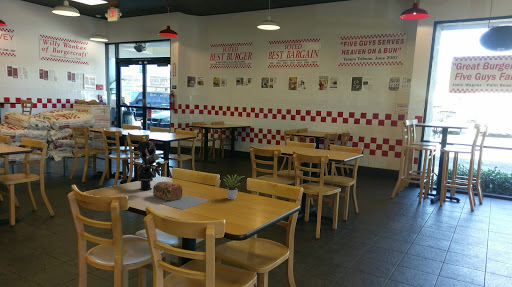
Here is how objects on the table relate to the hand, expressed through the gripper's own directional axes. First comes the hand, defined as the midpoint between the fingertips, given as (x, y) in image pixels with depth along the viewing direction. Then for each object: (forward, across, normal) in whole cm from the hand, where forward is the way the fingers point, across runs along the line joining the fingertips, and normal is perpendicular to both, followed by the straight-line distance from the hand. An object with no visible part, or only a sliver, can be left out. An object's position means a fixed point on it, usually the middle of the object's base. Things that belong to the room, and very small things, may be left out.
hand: (157, 176), depth 237 cm
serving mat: (+27, 0, -9) cm, 29 cm away
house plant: (+39, +27, -21) cm, 52 cm away
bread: (+16, 0, +2) cm, 16 cm away
